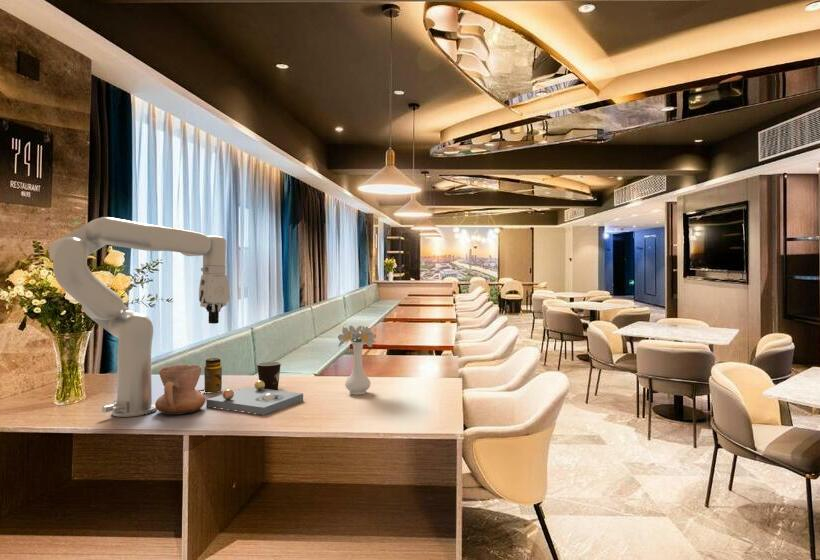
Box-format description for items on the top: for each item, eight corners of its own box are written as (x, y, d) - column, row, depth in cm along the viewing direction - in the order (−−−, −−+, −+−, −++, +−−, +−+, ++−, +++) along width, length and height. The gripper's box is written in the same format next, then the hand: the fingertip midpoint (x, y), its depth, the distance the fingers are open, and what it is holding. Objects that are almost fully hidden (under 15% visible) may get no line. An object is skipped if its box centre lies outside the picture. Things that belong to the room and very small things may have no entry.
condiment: (225, 391, 189) (225, 359, 189) (203, 394, 183) (203, 362, 183) (217, 387, 194) (217, 356, 194) (195, 391, 188) (195, 359, 188)
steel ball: (270, 406, 165) (265, 395, 165) (263, 409, 168) (258, 398, 167) (279, 400, 169) (274, 390, 169) (272, 403, 171) (267, 392, 171)
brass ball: (260, 391, 177) (260, 381, 177) (252, 390, 178) (252, 380, 178) (266, 389, 180) (266, 379, 180) (259, 388, 182) (259, 379, 182)
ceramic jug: (171, 404, 170) (171, 362, 169) (214, 404, 169) (213, 362, 169) (141, 420, 152) (141, 373, 151) (189, 420, 151) (188, 373, 151)
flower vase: (379, 387, 195) (379, 322, 194) (369, 399, 176) (369, 328, 176) (346, 386, 196) (346, 322, 196) (333, 398, 178) (333, 327, 177)
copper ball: (228, 401, 163) (228, 391, 163) (220, 400, 165) (220, 389, 165) (236, 399, 166) (236, 388, 166) (228, 398, 168) (228, 387, 168)
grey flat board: (206, 406, 166) (206, 399, 166) (249, 393, 184) (249, 386, 184) (263, 415, 156) (263, 407, 156) (303, 400, 174) (303, 393, 174)
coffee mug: (266, 393, 184) (266, 366, 184) (252, 390, 189) (252, 364, 189) (291, 388, 193) (291, 362, 193) (277, 385, 199) (277, 359, 198)
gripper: (204, 270, 169) (203, 325, 169) (238, 271, 183) (237, 322, 183) (188, 270, 173) (188, 324, 173) (222, 271, 186) (222, 321, 186)
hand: (213, 323), depth 178 cm, fingers closed
